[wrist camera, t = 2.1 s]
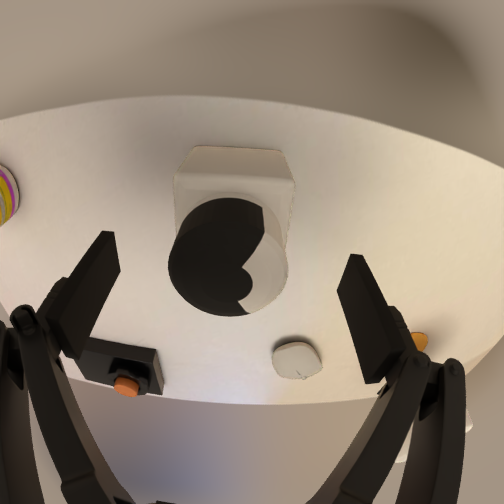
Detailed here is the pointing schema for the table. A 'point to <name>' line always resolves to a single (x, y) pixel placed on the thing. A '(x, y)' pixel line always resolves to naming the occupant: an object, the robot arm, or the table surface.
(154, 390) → the machine
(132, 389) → the button
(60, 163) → the table surface
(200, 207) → the medicine bottle
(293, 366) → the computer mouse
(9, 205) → the supplement bottle
